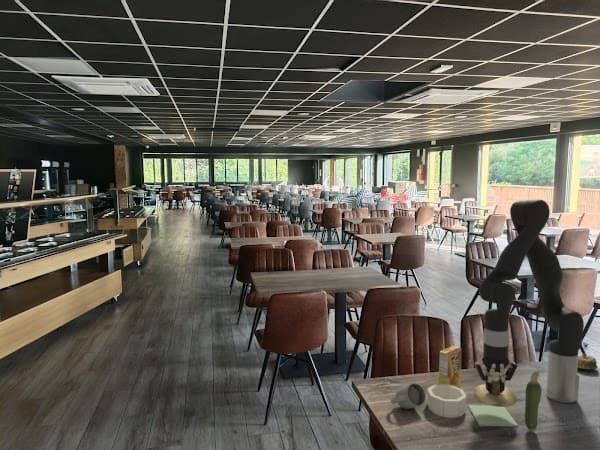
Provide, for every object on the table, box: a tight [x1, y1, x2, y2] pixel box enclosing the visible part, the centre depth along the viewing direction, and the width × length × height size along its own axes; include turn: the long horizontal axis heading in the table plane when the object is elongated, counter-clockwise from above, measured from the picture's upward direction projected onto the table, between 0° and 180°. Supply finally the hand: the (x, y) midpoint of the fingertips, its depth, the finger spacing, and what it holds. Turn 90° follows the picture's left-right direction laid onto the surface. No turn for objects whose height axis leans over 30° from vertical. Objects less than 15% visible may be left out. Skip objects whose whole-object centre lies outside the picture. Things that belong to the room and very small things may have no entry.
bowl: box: [426, 383, 467, 419], centre depth 156 cm, size 12×12×6 cm
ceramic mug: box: [390, 382, 427, 410], centre depth 155 cm, size 11×8×8 cm
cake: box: [577, 352, 598, 370], centre depth 190 cm, size 10×10×5 cm
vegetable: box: [524, 371, 542, 433], centre depth 142 cm, size 4×4×20 cm
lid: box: [473, 377, 518, 408], centre depth 150 cm, size 13×13×6 cm
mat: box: [467, 404, 519, 428], centre depth 151 cm, size 12×12×1 cm
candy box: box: [438, 345, 463, 388], centre depth 170 cm, size 9×4×15 cm, turn 129°
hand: (494, 391), depth 150 cm, fingers closed on lid, 3 cm apart
